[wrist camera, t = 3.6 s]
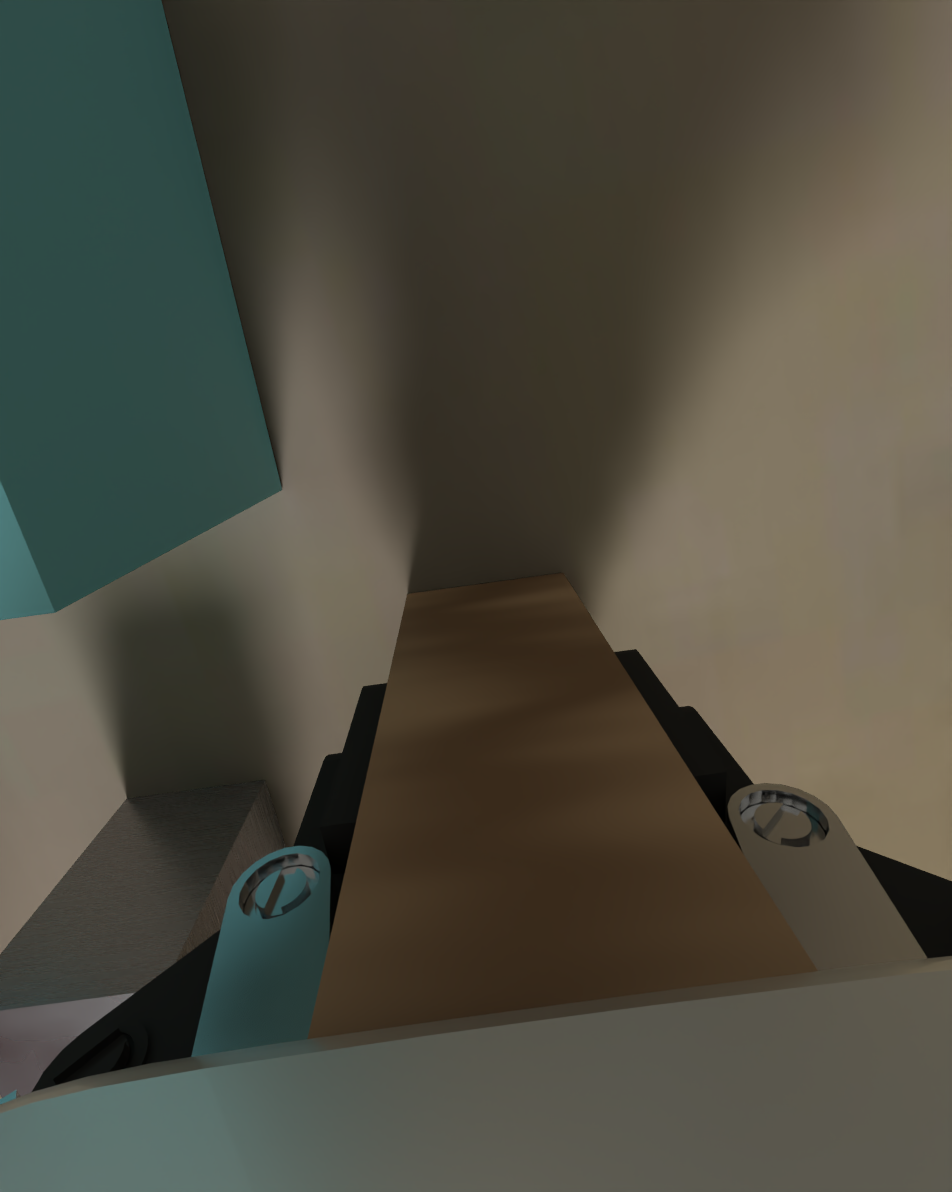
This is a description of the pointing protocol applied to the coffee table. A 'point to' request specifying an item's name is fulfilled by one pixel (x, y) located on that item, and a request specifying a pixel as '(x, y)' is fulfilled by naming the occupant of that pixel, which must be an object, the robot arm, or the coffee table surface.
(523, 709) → the walnut pin
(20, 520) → the bridge block
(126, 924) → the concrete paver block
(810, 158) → the coffee table surface
